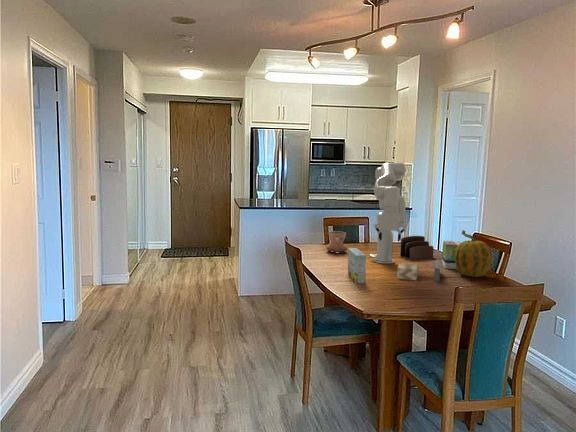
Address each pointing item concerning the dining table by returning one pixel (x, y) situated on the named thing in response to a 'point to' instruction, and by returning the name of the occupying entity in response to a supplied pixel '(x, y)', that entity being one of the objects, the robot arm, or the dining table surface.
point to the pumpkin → (473, 257)
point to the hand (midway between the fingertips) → (389, 240)
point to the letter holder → (415, 248)
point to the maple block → (407, 271)
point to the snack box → (357, 265)
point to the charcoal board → (436, 271)
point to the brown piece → (337, 241)
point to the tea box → (449, 254)
